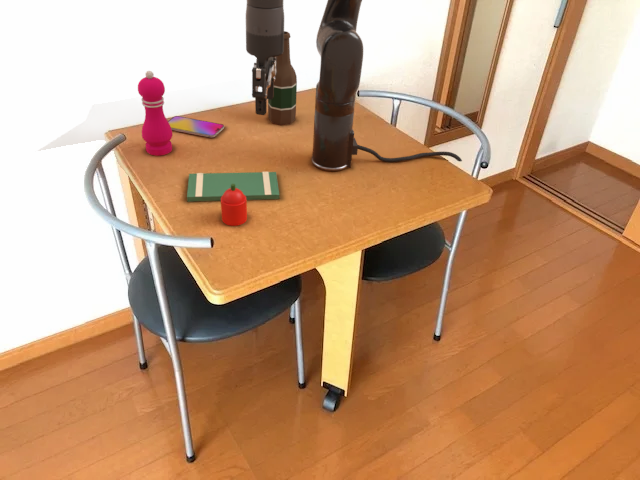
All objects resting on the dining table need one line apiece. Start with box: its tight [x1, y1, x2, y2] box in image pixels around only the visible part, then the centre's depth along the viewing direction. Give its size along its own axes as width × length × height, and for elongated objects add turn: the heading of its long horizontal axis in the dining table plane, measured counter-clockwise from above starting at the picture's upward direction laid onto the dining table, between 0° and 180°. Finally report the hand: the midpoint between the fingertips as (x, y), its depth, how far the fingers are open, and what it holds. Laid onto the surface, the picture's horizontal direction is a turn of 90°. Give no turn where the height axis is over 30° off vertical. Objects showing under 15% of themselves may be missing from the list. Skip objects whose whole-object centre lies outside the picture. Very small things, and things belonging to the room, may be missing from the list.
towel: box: [186, 171, 280, 203], centre depth 125 cm, size 20×10×1 cm, turn 98°
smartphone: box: [167, 115, 225, 139], centre depth 148 cm, size 7×1×15 cm
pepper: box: [220, 184, 248, 227], centre depth 113 cm, size 5×5×8 cm
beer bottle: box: [267, 30, 298, 126], centre depth 148 cm, size 8×8×24 cm
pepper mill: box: [137, 70, 173, 157], centre depth 131 cm, size 7×7×20 cm
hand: (264, 106), depth 118 cm, fingers open, 8 cm apart
